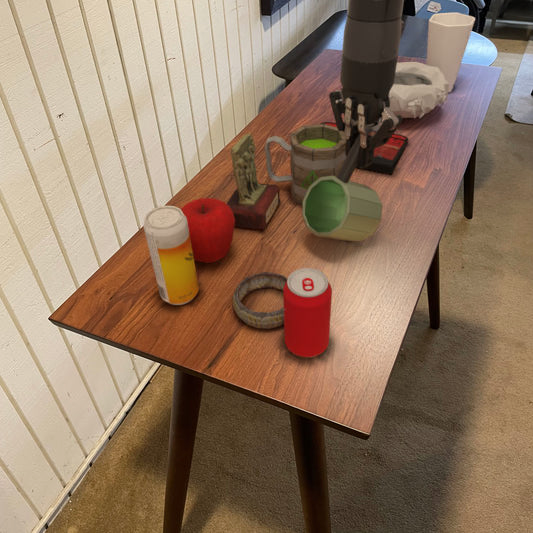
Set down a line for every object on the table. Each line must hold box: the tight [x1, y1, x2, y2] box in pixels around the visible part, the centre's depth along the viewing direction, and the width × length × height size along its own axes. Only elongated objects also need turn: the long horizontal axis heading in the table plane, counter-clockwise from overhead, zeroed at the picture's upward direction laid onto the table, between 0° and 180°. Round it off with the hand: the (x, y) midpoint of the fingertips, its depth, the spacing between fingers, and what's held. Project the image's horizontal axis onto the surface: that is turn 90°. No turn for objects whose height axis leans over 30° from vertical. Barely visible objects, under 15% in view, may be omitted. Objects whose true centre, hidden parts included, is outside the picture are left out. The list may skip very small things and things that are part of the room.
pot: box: [301, 132, 383, 242], centre depth 84 cm, size 18×10×9 cm
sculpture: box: [226, 133, 281, 230], centre depth 91 cm, size 10×8×15 cm
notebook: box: [320, 121, 409, 175], centre depth 113 cm, size 16×2×21 cm
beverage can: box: [282, 267, 333, 358], centre depth 68 cm, size 6×6×12 cm
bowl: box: [389, 61, 449, 120], centre depth 122 cm, size 21×20×10 cm
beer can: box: [142, 205, 200, 306], centre depth 76 cm, size 6×6×15 cm
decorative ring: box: [232, 271, 288, 330], centre depth 77 cm, size 10×3×10 cm
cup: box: [425, 12, 476, 93], centre depth 130 cm, size 11×10×17 cm
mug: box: [264, 123, 346, 206], centre depth 97 cm, size 16×11×12 cm
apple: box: [180, 197, 236, 264], centre depth 84 cm, size 10×10×11 cm
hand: (357, 162), depth 81 cm, fingers closed on pot, 2 cm apart
